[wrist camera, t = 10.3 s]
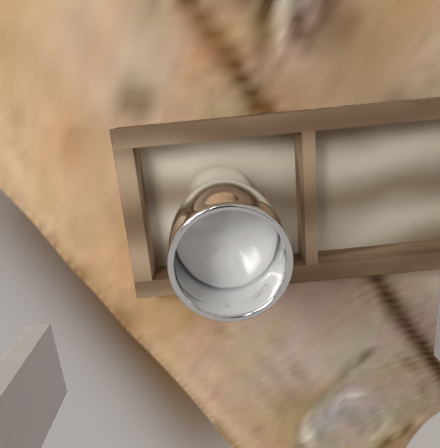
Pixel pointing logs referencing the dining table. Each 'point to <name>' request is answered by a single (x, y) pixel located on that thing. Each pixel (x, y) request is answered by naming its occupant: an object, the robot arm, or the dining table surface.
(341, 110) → the tray
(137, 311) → the dining table surface
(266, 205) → the metal cup
